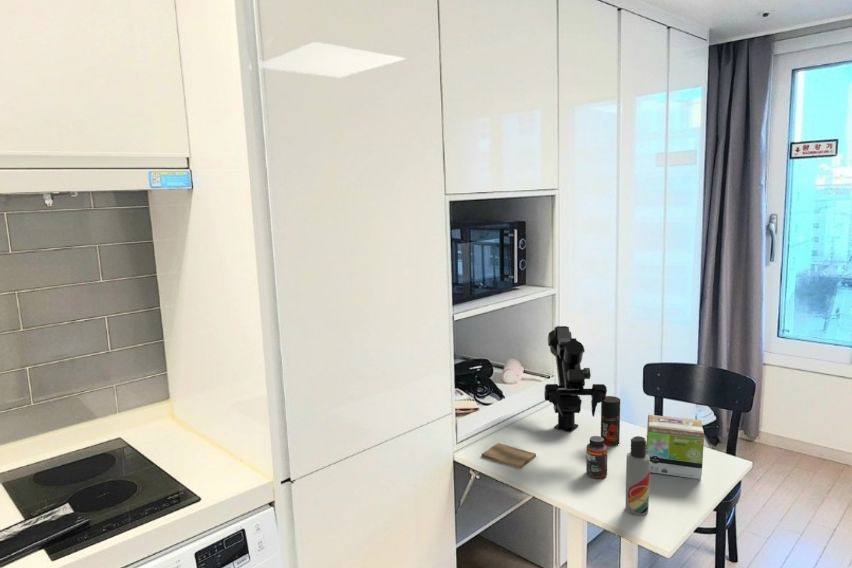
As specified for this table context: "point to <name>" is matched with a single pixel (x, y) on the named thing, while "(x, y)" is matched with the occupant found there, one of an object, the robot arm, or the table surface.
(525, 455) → the walnut board
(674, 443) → the tea box
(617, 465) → the table surface
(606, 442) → the deodorant
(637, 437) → the lotion bottle
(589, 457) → the supplement bottle
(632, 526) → the table surface
